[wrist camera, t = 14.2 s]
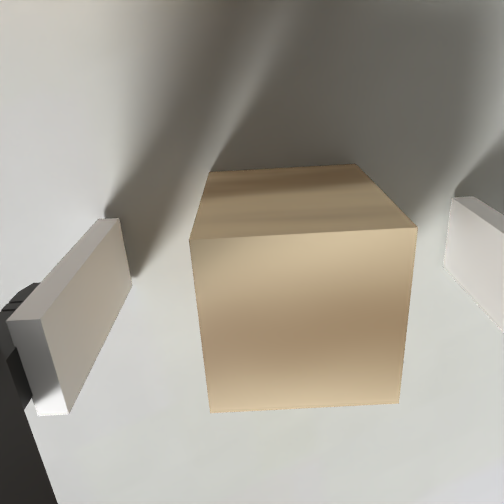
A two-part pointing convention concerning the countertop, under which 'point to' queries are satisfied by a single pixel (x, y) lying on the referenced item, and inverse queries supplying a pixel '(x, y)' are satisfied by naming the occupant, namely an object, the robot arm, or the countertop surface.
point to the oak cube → (301, 288)
